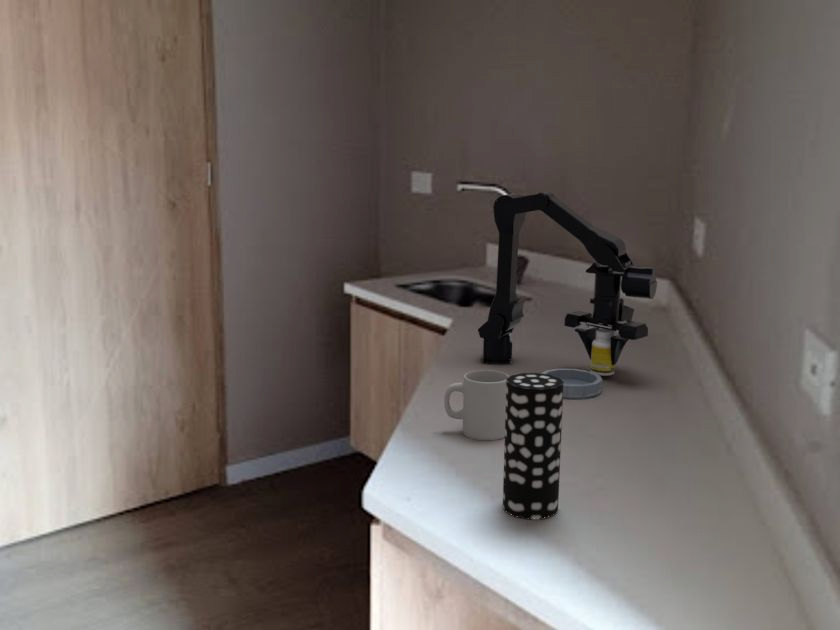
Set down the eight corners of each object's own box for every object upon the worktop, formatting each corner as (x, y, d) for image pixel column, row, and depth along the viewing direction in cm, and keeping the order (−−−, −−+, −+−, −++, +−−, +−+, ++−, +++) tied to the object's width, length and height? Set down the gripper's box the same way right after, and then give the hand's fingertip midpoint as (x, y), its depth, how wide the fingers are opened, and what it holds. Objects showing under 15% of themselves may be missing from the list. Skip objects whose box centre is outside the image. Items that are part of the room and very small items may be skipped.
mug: (508, 425, 175) (509, 370, 173) (508, 441, 167) (510, 383, 164) (445, 423, 176) (445, 368, 173) (442, 439, 168) (443, 381, 165)
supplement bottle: (614, 377, 204) (617, 334, 202) (589, 375, 205) (592, 332, 203) (614, 370, 210) (617, 328, 207) (590, 368, 211) (592, 327, 208)
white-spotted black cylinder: (498, 497, 143) (501, 373, 138) (551, 495, 143) (556, 372, 139) (507, 520, 135) (512, 389, 130) (563, 518, 135) (569, 388, 131)
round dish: (543, 398, 191) (544, 386, 191) (535, 380, 204) (535, 368, 204) (606, 399, 191) (607, 386, 191) (594, 380, 204) (595, 368, 204)
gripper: (663, 295, 203) (658, 363, 206) (592, 283, 215) (588, 348, 219) (636, 302, 195) (631, 373, 198) (564, 289, 208) (561, 356, 211)
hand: (603, 362), depth 207 cm, fingers closed on supplement bottle, 5 cm apart
